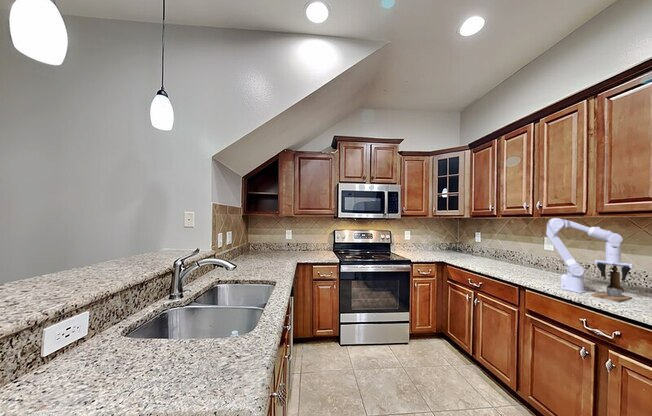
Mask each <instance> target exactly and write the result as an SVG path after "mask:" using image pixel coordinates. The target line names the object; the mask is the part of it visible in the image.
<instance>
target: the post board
mask: <svg viewBox="0 0 652 416" xmlns="http://www.w3.org/2000/svg"><path fill="white" fill-rule="evenodd" d="M613 290H617V289H613ZM590 296H591V297H596V298H598V297H599V298H598V299H604V300H608V301H613V302H616V303H622V302H626V301H629V300H633V297H632V296H629V295H624V294H622V297H612V296H608V295H607V291H606V290H605V291H604V290H603V291H599V292H594V293H591V294H590Z"/></svg>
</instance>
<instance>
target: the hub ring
mask: <svg viewBox="0 0 652 416" xmlns="http://www.w3.org/2000/svg"><path fill="white" fill-rule="evenodd" d="M613 289H616V288H607V287H606V292H607V295H608V296H612V297H622V295H623V292H622V290H620V289H617V290H613Z"/></svg>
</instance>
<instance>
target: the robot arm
mask: <svg viewBox="0 0 652 416" xmlns="http://www.w3.org/2000/svg"><path fill="white" fill-rule="evenodd" d="M563 228H572V229H573V230H574V229H575V230H577V231H581V232H585V233H586V234H587V235H588V236H589V237H592V238H594V239H595V238H596V239H598V240H602V241H605V260H601V259H595V260H594V264H596V267H597V268H598V270H599V271H600V274H601V277H602V278H606V276H607V275H606V268H607V266H612V267H613V266H617V267H621V273H622V274H621V280H622V281H626V280H627V276H628V275H629V272H631V270H632V269H633V268H634V263H626V262H622V255H621V254H622V251H621V250H622V249H621V248H622V247H621V243H622V242H623V240H624V238H623V237H622V235H620V234H619V233H615V232H612V231H611V230H606V229H603V228H601V227H600V226H591V227H588V226H586V225H583V224H580V223H579V222H578V223H577V222H575V221H572V220H567V219H563V218H559V217H557V218H556V217H553V218H550V219H548V222H547V223H546V230H545V235H546V237H547V239H548V240H549V242H550V243H551V244H552V245H553V247H554V249H555V250H556V251H557V253H558V254H559V256H560V258H561V259H562V261H563V263H564V264H565V268H566V271H567V273H564V274H562V275H561V277H560V283H561V284H560V286H561V287H560V289H561V290H565V291H569V292H573V293H579V294H583V293H588V290H585V277H584V275H585V271H586V270H585V269H584V267H582V266H580V265H579V264H578V262H577V261H576V260H575V259H574V257H573V256H572V255H571V253H570V252H569V250H568V248H567V247H566V246H565V244H564V243H563V241H562V240H561V238H560V237H559V235H558V234H559V233H560V231H561V230H562V229H563ZM613 264H616V265H613Z"/></svg>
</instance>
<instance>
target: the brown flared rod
mask: <svg viewBox="0 0 652 416" xmlns="http://www.w3.org/2000/svg"><path fill="white" fill-rule="evenodd" d="M613 265H616V264H613ZM613 265H612V267H611V270H612V271H609V277H610V279H609V282H610V283H609V284H608V285H606V289H607V288H616V289H620V290H622V293H624V292H625V289H624V287H622V285H621V273H620V272H619V271H618V269H619V268H618V266H613Z"/></svg>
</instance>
